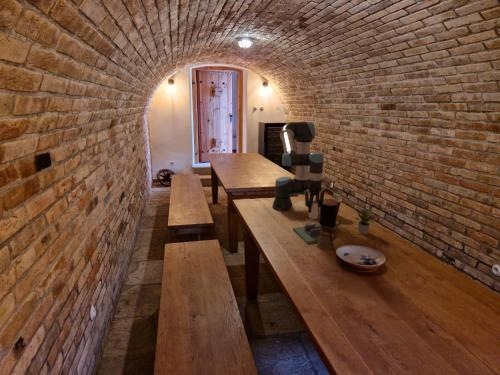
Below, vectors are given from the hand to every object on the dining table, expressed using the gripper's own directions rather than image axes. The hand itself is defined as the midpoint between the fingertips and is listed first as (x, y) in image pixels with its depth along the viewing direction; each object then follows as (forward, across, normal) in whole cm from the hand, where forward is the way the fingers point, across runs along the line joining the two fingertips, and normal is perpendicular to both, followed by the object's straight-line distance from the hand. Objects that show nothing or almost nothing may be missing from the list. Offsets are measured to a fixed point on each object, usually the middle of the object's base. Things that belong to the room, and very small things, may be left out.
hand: (313, 217), depth 189 cm
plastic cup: (+12, +30, +26) cm, 42 cm away
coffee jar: (+12, +15, +8) cm, 21 cm away
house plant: (+12, +31, -6) cm, 34 cm away
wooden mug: (+13, +2, -16) cm, 21 cm away
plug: (0, 0, 0) cm, 0 cm away
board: (+12, 0, +1) cm, 12 cm away
